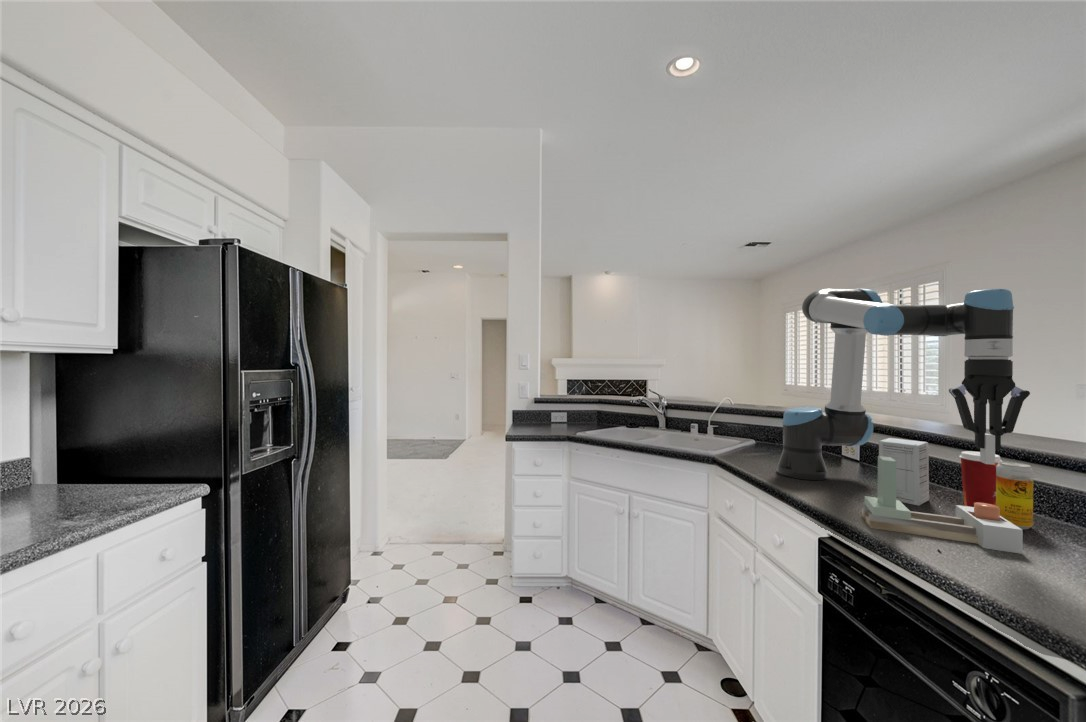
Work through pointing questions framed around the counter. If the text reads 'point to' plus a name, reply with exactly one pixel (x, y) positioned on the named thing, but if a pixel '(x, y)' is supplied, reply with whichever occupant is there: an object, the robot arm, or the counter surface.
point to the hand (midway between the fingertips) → (987, 463)
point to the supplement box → (909, 468)
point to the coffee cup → (978, 479)
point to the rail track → (924, 525)
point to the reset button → (986, 511)
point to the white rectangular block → (993, 531)
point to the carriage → (887, 493)
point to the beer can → (1015, 493)
